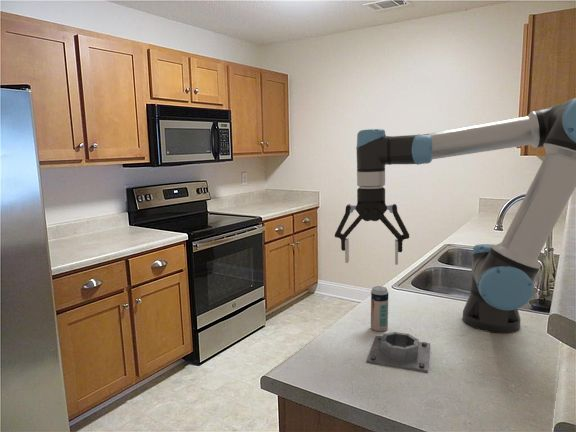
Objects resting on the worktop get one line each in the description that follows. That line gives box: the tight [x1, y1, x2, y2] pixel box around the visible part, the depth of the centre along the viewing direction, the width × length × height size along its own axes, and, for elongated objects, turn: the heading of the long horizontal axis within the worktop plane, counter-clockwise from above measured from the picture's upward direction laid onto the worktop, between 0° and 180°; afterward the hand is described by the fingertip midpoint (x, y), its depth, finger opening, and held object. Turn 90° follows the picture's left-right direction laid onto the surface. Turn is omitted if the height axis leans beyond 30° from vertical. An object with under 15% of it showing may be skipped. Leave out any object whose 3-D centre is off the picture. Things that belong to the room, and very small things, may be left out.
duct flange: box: [365, 331, 431, 373], centre depth 102 cm, size 14×14×4 cm
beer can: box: [370, 285, 389, 332], centre depth 116 cm, size 5×5×12 cm
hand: (371, 262), depth 115 cm, fingers open, 13 cm apart
